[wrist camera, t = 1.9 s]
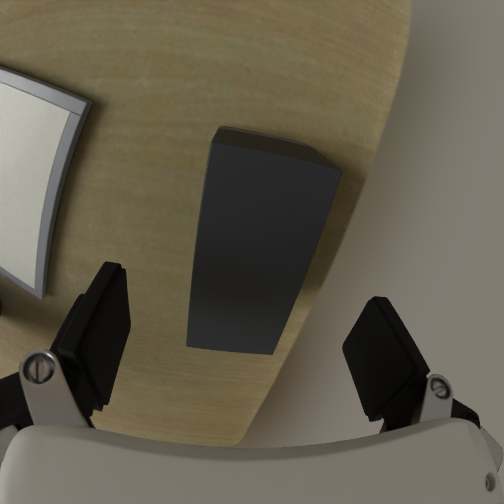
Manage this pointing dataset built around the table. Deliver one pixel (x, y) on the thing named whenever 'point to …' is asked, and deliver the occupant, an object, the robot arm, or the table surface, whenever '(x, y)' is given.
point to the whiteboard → (33, 171)
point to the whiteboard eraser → (255, 238)
